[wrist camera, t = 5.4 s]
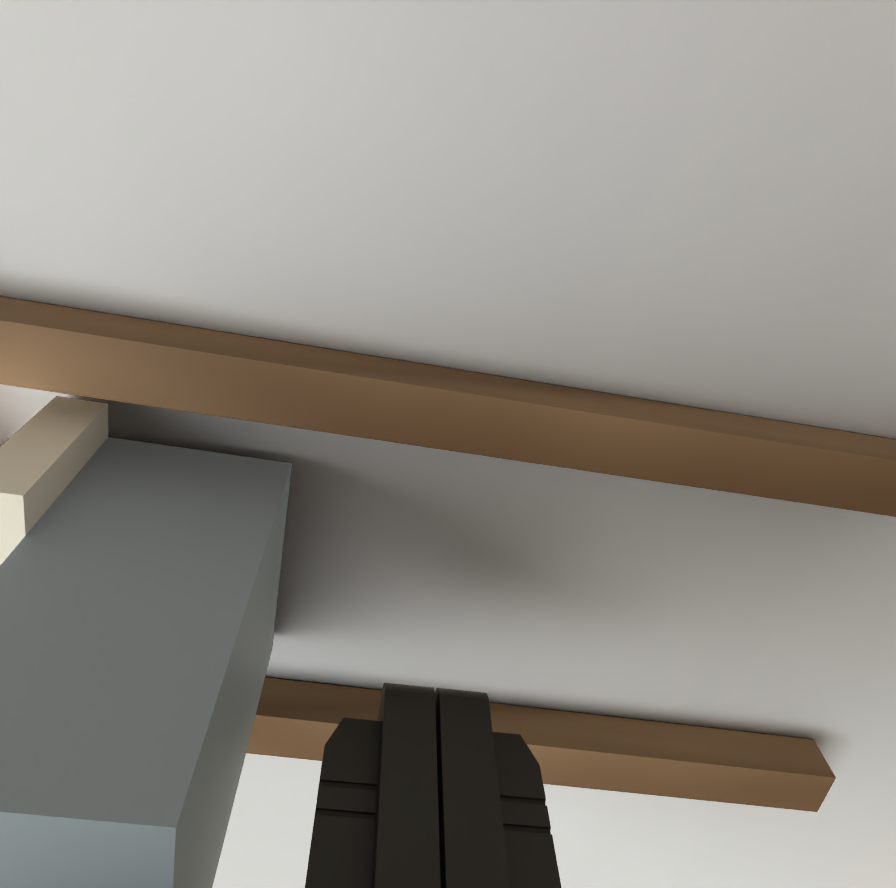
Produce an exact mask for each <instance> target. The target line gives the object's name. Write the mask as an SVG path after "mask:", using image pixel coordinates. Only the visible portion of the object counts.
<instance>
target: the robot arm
mask: <svg viewBox="0 0 896 888" xmlns="http://www.w3.org/2000/svg"><path fill="white" fill-rule="evenodd" d="M545 800H546V798H545V792H544V787H543V781H542V775H541V770H540V765H539V763H538V762H537V760H536V758H535V757H534V755H533V754H532V752H531V750H530V749H529V747H528V746H527V744H526V743H525V741H524V739H523V738H522V736H521V735H520V734H511V733H501V732H493V731H492V722H491V714H490V705H489V698H488V695H487V694H486V693H481V692H471V691H462V690H452V689H442V688H437V689H436V691H434V688H430V687H420V686H410V685H400V684H391V683H384V685H383V690H382V695H381V701H380V707H379V713H378V719H377V721H374V720H364V719H354V718H343V719H342V720H341V722H340V723H339V725H338V726H337V728H336V729H335V731H334V732H333V734H332V735H331V737H330V738H329V739H328V741H327V742H326V744H325V746H324V753H323V760H322V768H321V775H320V782H319V789H318V797H317V804H316V811H315V819H314V826H313V833H312V840H311V848H310V855H309V862H308V870H307V877H306V884H305V888H561V883H560V878H559V872H558V866H557V861H556V855H555V849H554V843H553V838H552V835H551V834H550V828H551V826H550V821H549V815H548V809H547V806H545Z"/></svg>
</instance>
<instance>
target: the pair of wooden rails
mask: <svg viewBox="0 0 896 888" xmlns="http://www.w3.org/2000/svg"><path fill="white" fill-rule="evenodd" d="M0 384H4V385H11V386H17V387H24V388H31V389H38V390H44V391H51V392H58V393H65V394H71V395H78V396H85V397H92V398H98V399H105V400H112V401H119V402H125V403H132V404H139V405H146V406H152V407H159V408H166V409H173V410H179V411H186V412H193V413H200V414H206V415H213V416H220V417H227V418H233V419H240V420H247V421H254V422H260V423H267V424H274V425H281V426H287V427H294V428H301V429H308V430H314V431H321V432H328V433H335V434H341V435H348V436H355V437H362V438H368V439H375V440H382V441H389V442H395V443H402V444H409V445H416V446H422V447H429V448H436V449H443V450H449V451H456V452H463V453H470V454H476V455H483V456H490V457H497V458H503V459H510V460H517V461H524V462H530V463H537V464H544V465H550V466H557V467H564V468H571V469H577V470H584V471H591V472H598V473H604V474H611V475H618V476H625V477H631V478H638V479H645V480H652V481H658V482H665V483H672V484H679V485H685V486H692V487H699V488H706V489H712V490H719V491H726V492H733V493H739V494H746V495H753V496H760V497H766V498H773V499H780V500H787V501H793V502H800V503H807V504H814V505H820V506H827V507H834V508H841V509H847V510H854V511H861V512H868V513H874V514H881V515H888V516H895V517H896V440H895V439H889V438H883V437H876V436H870V435H864V434H858V433H851V432H845V431H839V430H833V429H826V428H820V427H814V426H808V425H801V424H795V423H789V422H783V421H776V420H770V419H764V418H758V417H751V416H745V415H739V414H732V413H726V412H720V411H714V410H707V409H701V408H695V407H689V406H682V405H676V404H670V403H664V402H657V401H651V400H645V399H639V398H632V397H626V396H620V395H614V394H607V393H601V392H595V391H588V390H582V389H576V388H570V387H563V386H557V385H551V384H545V383H538V382H532V381H526V380H520V379H513V378H507V377H501V376H495V375H488V374H482V373H476V372H469V371H463V370H457V369H451V368H444V367H438V366H432V365H426V364H419V363H413V362H407V361H401V360H394V359H388V358H382V357H376V356H369V355H363V354H357V353H351V352H344V351H338V350H332V349H325V348H319V347H313V346H307V345H300V344H294V343H288V342H282V341H275V340H269V339H263V338H257V337H250V336H244V335H238V334H232V333H225V332H219V331H213V330H207V329H200V328H194V327H188V326H181V325H175V324H169V323H163V322H156V321H150V320H144V319H138V318H131V317H125V316H119V315H113V314H106V313H100V312H94V311H88V310H81V309H75V308H69V307H63V306H56V305H50V304H44V303H37V302H31V301H25V300H19V299H12V298H6V297H0ZM381 695H382V691H381V690H372V689H363V688H354V687H346V686H337V685H328V684H319V683H310V682H302V681H293V680H284V679H275V678H266V677H265V679H264V683H263V687H262V691H261V695H260V699H259V703H258V707H257V711H256V715H255V719H254V723H253V727H252V731H251V735H250V739H249V743H248V747H247V751H246V753H250V754H260V755H270V756H280V757H289V758H299V759H309V760H318V761H322V760H323V753H324V746H325V744H326V742H327V741H328V739H329V738H330V737H331V735H332V734H333V732H334V731H335V729H336V728H337V726H338V725H339V723H340V722H341V720H342V719H343V718H354V719H364V720H374V721H377V719H378V713H379V707H380V701H381ZM489 705H490V714H491V722H492V731H493V732H501V733H511V734H520V735H521V736H522V738H523V739H524V741H525V743H526V744H527V746H528V747H529V749H530V750H531V752H532V754H533V755H534V757H535V758H536V760H537V762H538V763H539V765H540V770H541V775H542V781H543V784H551V785H561V786H571V787H581V788H590V789H600V790H610V791H619V792H629V793H639V794H649V795H658V796H668V797H678V798H687V799H697V800H707V801H717V802H726V803H736V804H746V805H755V806H765V807H775V808H785V809H794V810H804V811H814V812H817V811H818V809H819V808H820V806H821V804H822V802H823V800H824V798H825V797H826V795H827V793H828V791H829V789H830V787H831V786H832V784H833V782H834V780H835V778H836V777H835V776H834V774H833V772H832V770H831V769H830V767H829V765H828V764H827V762H826V760H825V759H824V757H823V755H822V753H821V752H820V750H819V748H818V747H817V745H816V743H815V741H814V740H812V739H804V738H795V737H786V736H777V735H768V734H760V733H751V732H742V731H733V730H724V729H716V728H707V727H698V726H689V725H680V724H671V723H663V722H654V721H645V720H636V719H627V718H619V717H610V716H601V715H592V714H583V713H575V712H566V711H557V710H548V709H539V708H531V707H522V706H513V705H504V704H495V703H489Z"/></svg>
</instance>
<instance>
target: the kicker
mask: <svg viewBox="0 0 896 888" xmlns="http://www.w3.org/2000/svg"><path fill="white" fill-rule="evenodd" d="M291 469H292V463H286V462H279V461H272V460H265V459H258V458H251V457H244V456H237V455H230V454H223V453H216V452H209V451H202V450H195V449H188V448H181V447H174V446H167V445H160V444H154V443H147V442H140V441H133V440H126V439H119V438H112V437H108V404H107V403H100V402H93V401H87V400H80V399H73V398H66V397H60V396H56V397H55V398H54V399H53V400H51V401H50V402H49V403H48V404H47V405H46V406H45V407H44V408H43V409H42V410H40V411H39V412H38V413H37V414H36V415H35V416H34V417H33V418H32V419H31V420H29V421H28V422H27V423H26V424H25V425H24V426H23V427H22V428H21V429H20V430H18V431H17V432H16V433H15V434H14V435H13V436H12V437H11V438H10V439H9V440H7V441H6V442H5V443H4V444H3V445H2V446H1V447H0V888H212V886H213V882H214V878H215V874H216V870H217V866H218V862H219V858H220V854H221V850H222V846H223V842H224V838H225V834H226V830H227V826H228V822H229V818H230V814H231V810H232V806H233V802H234V798H235V794H236V790H237V786H238V782H239V778H240V774H241V770H242V766H243V763H244V759H245V755H246V751H247V747H248V743H249V739H250V735H251V731H252V727H253V723H254V719H255V715H256V711H257V707H258V703H259V699H260V695H261V691H262V687H263V683H264V679H265V675H266V671H267V667H268V663H269V659H270V655H271V651H272V645H273V636H274V627H275V617H276V608H277V599H278V590H279V580H280V571H281V562H282V553H283V543H284V534H285V525H286V515H287V506H288V497H289V488H290V478H291Z"/></svg>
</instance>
